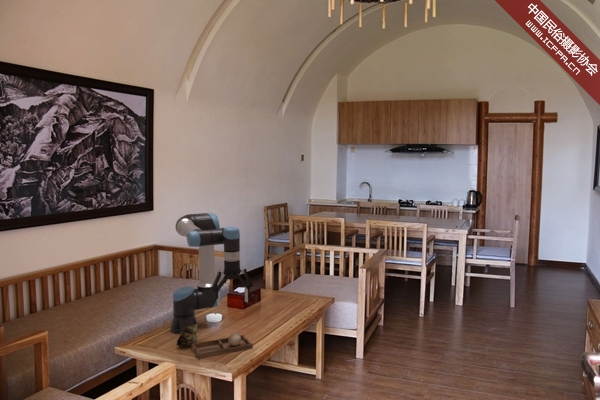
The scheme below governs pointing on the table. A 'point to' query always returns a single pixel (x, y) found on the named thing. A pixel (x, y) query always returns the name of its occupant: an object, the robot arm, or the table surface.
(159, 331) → the table surface
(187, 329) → the seashell
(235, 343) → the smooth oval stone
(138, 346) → the table surface
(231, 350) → the holder
